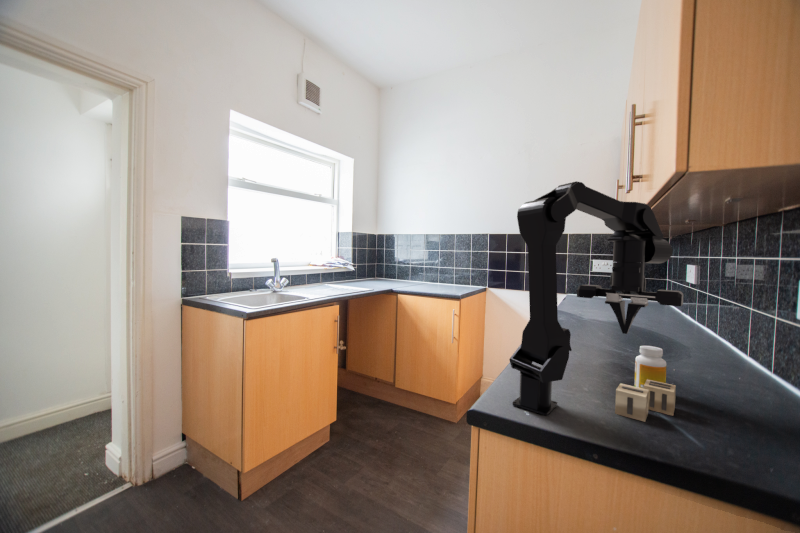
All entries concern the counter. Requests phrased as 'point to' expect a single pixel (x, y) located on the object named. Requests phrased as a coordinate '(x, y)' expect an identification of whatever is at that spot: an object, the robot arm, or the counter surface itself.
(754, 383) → the counter surface
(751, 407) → the counter surface
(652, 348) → the supplement bottle
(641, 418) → the oak block one
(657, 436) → the counter surface
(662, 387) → the birch block two
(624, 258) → the robot arm
